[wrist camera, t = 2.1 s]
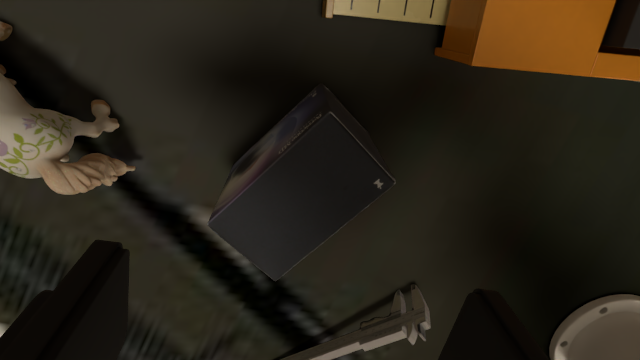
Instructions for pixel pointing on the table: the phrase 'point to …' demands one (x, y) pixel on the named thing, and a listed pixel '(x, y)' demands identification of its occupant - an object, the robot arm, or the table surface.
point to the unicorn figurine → (52, 141)
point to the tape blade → (391, 10)
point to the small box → (299, 184)
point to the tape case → (537, 37)
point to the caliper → (376, 330)
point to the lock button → (624, 25)
